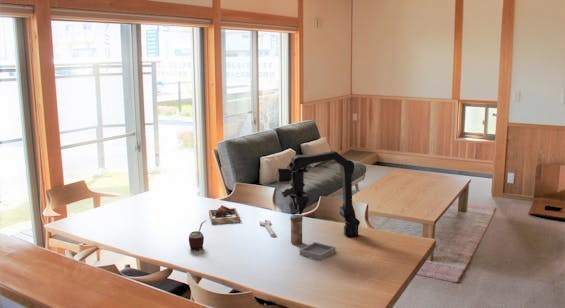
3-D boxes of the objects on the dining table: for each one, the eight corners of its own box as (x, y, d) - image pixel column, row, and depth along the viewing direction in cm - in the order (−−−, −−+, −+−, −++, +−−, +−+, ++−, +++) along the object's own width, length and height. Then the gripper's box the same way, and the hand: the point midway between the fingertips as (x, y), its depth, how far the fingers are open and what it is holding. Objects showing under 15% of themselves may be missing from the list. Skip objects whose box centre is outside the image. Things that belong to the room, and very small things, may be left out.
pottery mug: (213, 217, 305) (218, 204, 306) (228, 223, 307) (233, 210, 308) (214, 218, 293) (220, 204, 295) (230, 224, 295) (236, 211, 296)
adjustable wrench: (276, 238, 270) (276, 234, 269) (264, 238, 269) (264, 235, 268) (269, 222, 294) (269, 219, 294) (258, 223, 293) (258, 220, 293)
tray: (314, 246, 255) (314, 242, 255) (335, 252, 248) (335, 247, 248) (299, 254, 245) (299, 249, 245) (320, 260, 238) (320, 255, 238)
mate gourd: (187, 247, 256) (186, 217, 253) (203, 245, 259) (202, 215, 256) (191, 252, 249) (190, 222, 247) (207, 250, 252) (206, 220, 250)
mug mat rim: (235, 212, 311) (235, 208, 311) (240, 221, 295) (239, 216, 294) (209, 214, 308) (208, 209, 307) (211, 224, 291) (211, 218, 291)
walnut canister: (300, 240, 264) (300, 214, 262) (304, 244, 259) (304, 217, 256) (289, 241, 263) (289, 215, 261) (292, 245, 257) (291, 218, 255)
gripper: (277, 177, 267) (278, 207, 269) (286, 186, 249) (286, 218, 252) (299, 176, 269) (299, 206, 272) (309, 185, 251) (309, 216, 254)
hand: (297, 211), depth 262 cm, fingers open, 9 cm apart
